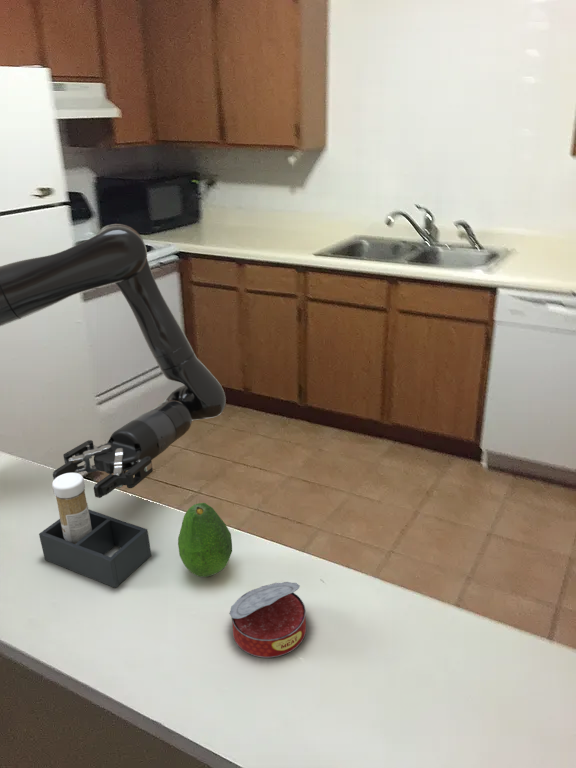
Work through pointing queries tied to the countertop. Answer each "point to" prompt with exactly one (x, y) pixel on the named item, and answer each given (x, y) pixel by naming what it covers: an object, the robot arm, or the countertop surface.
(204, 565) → the avocado
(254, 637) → the canned food
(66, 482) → the sprinkles bottle
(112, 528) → the divided storage box
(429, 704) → the countertop surface
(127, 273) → the robot arm
